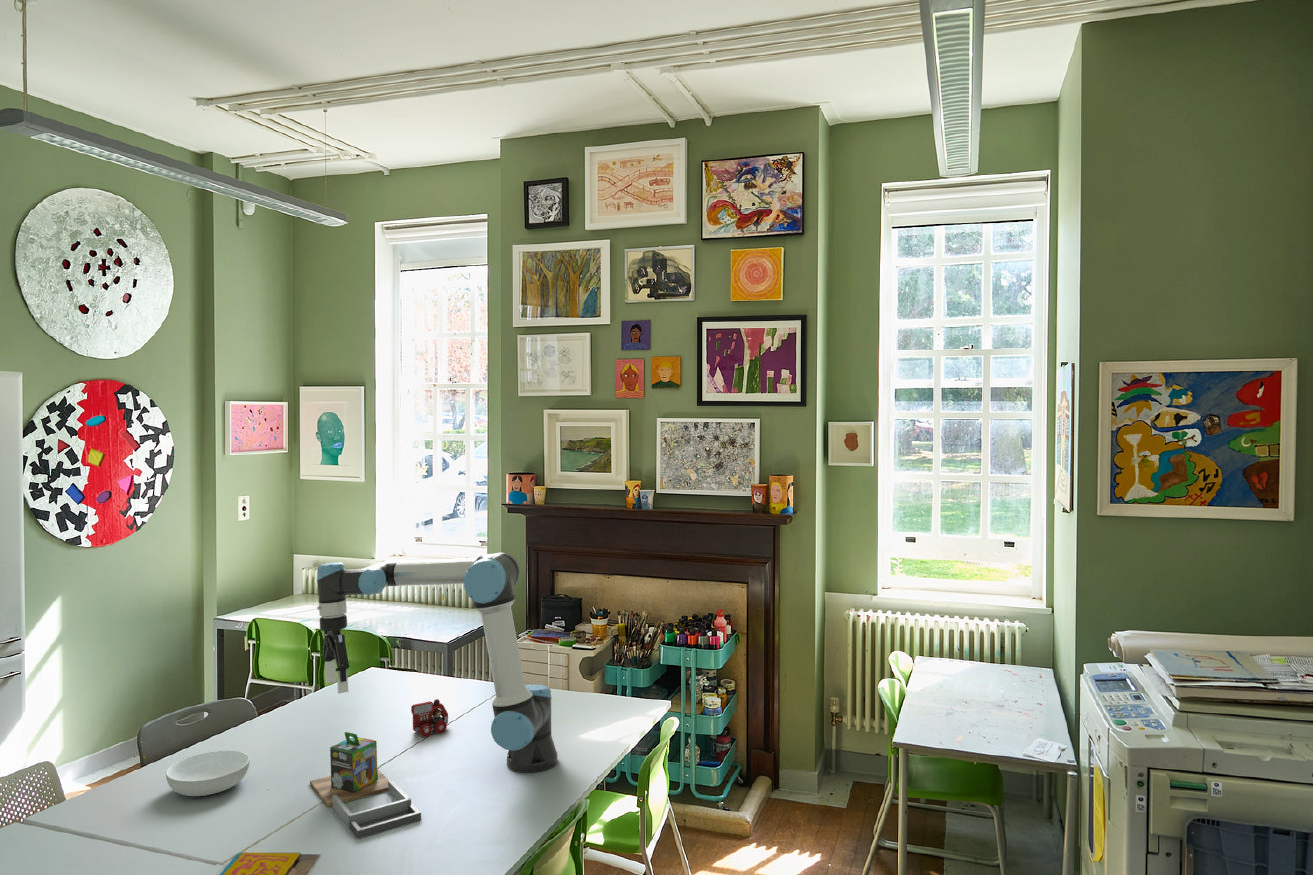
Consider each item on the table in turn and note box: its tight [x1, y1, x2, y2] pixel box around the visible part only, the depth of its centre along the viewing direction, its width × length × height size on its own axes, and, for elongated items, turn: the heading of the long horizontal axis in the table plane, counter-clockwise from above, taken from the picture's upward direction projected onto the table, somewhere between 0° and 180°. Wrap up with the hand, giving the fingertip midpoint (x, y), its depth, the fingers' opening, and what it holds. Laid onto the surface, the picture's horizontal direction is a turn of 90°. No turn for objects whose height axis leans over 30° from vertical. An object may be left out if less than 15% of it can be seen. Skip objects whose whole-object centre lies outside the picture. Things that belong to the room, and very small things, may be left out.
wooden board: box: [309, 768, 390, 808], centre depth 234 cm, size 18×18×1 cm
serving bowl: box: [165, 749, 251, 797], centre depth 233 cm, size 21×21×7 cm
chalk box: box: [329, 731, 379, 793], centre depth 233 cm, size 9×9×15 cm
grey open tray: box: [331, 779, 422, 840], centre depth 218 cm, size 22×16×3 cm
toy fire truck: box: [410, 698, 449, 738], centre depth 276 cm, size 7×12×10 cm, turn 128°
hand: (337, 687), depth 245 cm, fingers open, 13 cm apart
